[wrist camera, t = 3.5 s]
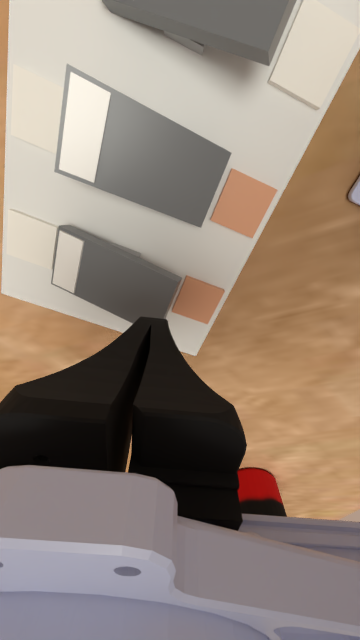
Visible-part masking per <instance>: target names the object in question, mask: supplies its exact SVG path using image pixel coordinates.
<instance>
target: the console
mask: <svg viewBox="0 0 360 640" xmlns="http://www.w3.org/2000/svg"><path fill="white" fill-rule="evenodd" d="M359 49H360V0H297V1H296V3H295V5H294V8H293V10H292V13H291V15H290V18H289V20H288V22H287V25H286V27H285V30H284V32H283V34H282V37H281V39H280V42H279V44H278V47H277V49H276V51H275V54H274V56H273V59H272V61H271V63H270V66H266V65H263V64H261V63H258V62H255V61H252V60H249V59H246V58H243V57H240V56H237V55H234V54H231V53H228V52H225V51H222V50H219V49H216V48H214V47H211V46H208V45H205V44H202V43H199V42H196V41H193V40H190V39H187V38H184V37H181V36H178V35H175V34H172V33H169V32H166V31H164V30H161V29H158V28H155V27H152V26H149V25H146V24H143V23H140V22H137V21H134V20H131V19H128V18H125V17H122V16H119V15H117V14H114V13H111V12H110V11H109V9H108V8H107V7H106V6H105V4H104V3H103V2H102V0H9V35H8V71H7V107H6V143H5V179H4V215H3V251H2V287H1V293H2V294H5V295H8V296H11V297H14V298H17V299H20V300H23V301H27V302H30V303H33V304H36V305H39V306H42V307H45V308H48V309H51V310H54V311H57V312H61V313H64V314H67V315H70V316H73V317H76V318H79V319H82V320H85V321H88V322H91V323H95V324H98V325H101V326H104V327H107V328H110V329H113V330H116V331H119V332H122V333H124V332H125V331H126V330H127V329H128V328H129V327H130V326H131V325H132V324H133V323H131V322H129V321H126V320H124V319H122V318H120V317H118V316H116V315H114V314H112V313H110V312H108V311H106V310H104V309H102V308H100V307H98V306H96V305H94V304H92V303H89V302H87V301H85V300H83V299H81V298H79V297H77V296H75V295H73V294H71V293H69V292H67V291H65V290H63V289H61V288H59V287H57V286H54V285H52V284H51V280H52V272H53V265H54V258H55V250H56V243H57V235H58V228H59V225H71V226H73V227H76V228H78V229H80V230H82V231H84V232H86V233H88V234H90V235H93V236H95V237H97V238H99V239H101V240H103V241H105V242H107V243H110V244H112V245H114V246H116V247H118V248H120V249H122V250H124V251H127V252H129V253H131V254H133V255H135V256H137V257H139V258H141V259H144V260H146V261H148V262H150V263H152V264H154V265H156V266H158V267H161V268H163V269H165V270H167V271H169V272H171V273H173V274H175V275H178V276H180V277H182V280H181V282H180V285H179V287H178V290H177V292H176V295H175V297H174V299H173V302H172V304H171V307H170V309H169V311H168V314H167V316H166V320H167V321H168V325H169V329H170V332H171V335H172V337H173V339H174V341H175V344H176V346H177V347H178V349H179V351H181V352H184V353H187V354H190V355H193V356H196V355H197V353H198V351H199V349H200V347H201V345H202V344H203V342H204V340H205V338H206V336H207V334H208V332H209V330H210V328H211V327H212V325H213V323H214V321H215V319H216V317H217V315H218V313H219V312H220V310H221V308H222V306H223V304H224V302H225V300H226V298H227V297H228V295H229V293H230V291H231V289H232V287H233V285H234V283H235V282H236V280H237V278H238V276H239V274H240V272H241V270H242V268H243V267H244V265H245V263H246V261H247V259H248V257H249V255H250V253H251V252H252V250H253V248H254V246H255V244H256V242H257V240H258V238H259V236H260V235H261V233H262V231H263V229H264V227H265V225H266V223H267V221H268V220H269V218H270V216H271V214H272V212H273V210H274V208H275V206H276V205H277V203H278V201H279V199H280V197H281V195H282V193H283V191H284V190H285V188H286V186H287V184H288V182H289V180H290V178H291V176H292V175H293V173H294V171H295V169H296V167H297V165H298V163H299V161H300V159H301V158H302V156H303V154H304V152H305V150H306V148H307V146H308V144H309V143H310V141H311V139H312V137H313V135H314V133H315V131H316V129H317V128H318V126H319V124H320V122H321V120H322V118H323V116H324V114H325V113H326V111H327V109H328V107H329V105H330V103H331V101H332V99H333V98H334V96H335V94H336V92H337V90H338V88H339V86H340V84H341V82H342V81H343V79H344V77H345V75H346V73H347V71H348V69H349V67H350V66H351V64H352V62H353V60H354V58H355V56H356V54H357V52H358V51H359ZM67 64H69V65H71V66H73V67H74V68H76V69H78V70H80V71H82V72H84V73H86V74H87V75H89V76H91V77H93V78H95V79H97V80H98V81H100V82H102V83H104V84H106V85H108V86H110V87H111V88H113V89H115V90H117V91H119V92H121V93H122V94H124V95H126V96H128V97H130V98H132V99H133V100H135V101H137V102H139V103H141V104H143V105H145V106H146V107H148V108H150V109H152V110H154V111H156V112H157V113H159V114H161V115H163V116H165V117H167V118H169V119H170V120H172V121H174V122H176V123H178V124H180V125H181V126H183V127H185V128H187V129H189V130H191V131H192V132H194V133H196V134H198V135H200V136H202V137H204V138H205V139H207V140H209V141H211V142H213V143H215V144H216V145H218V146H220V147H222V148H224V149H226V150H228V151H229V152H231V156H230V158H229V161H228V163H227V166H226V168H225V170H224V173H223V175H222V178H221V180H220V183H219V185H218V188H217V190H216V192H215V195H214V197H213V200H212V202H211V205H210V207H209V209H208V212H207V214H206V217H205V219H204V222H203V224H202V227H201V228H200V227H197V226H195V225H192V224H189V223H187V222H184V221H182V220H179V219H176V218H174V217H171V216H169V215H166V214H163V213H161V212H158V211H155V210H153V209H150V208H148V207H145V206H142V205H140V204H137V203H135V202H132V201H129V200H127V199H124V198H121V197H119V196H116V195H114V194H111V193H108V192H106V191H103V190H101V189H98V188H95V187H93V186H90V185H87V184H85V183H82V182H80V181H77V180H74V179H72V178H69V177H67V176H64V175H61V174H59V173H56V172H54V170H55V161H56V152H57V143H58V135H59V126H60V117H61V108H62V100H63V91H64V82H65V73H66V65H67Z"/></svg>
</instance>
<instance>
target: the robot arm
mask: <svg viewBox="0 0 360 640" xmlns="http://www.w3.org/2000/svg"><path fill="white" fill-rule="evenodd" d="M348 198H349V200H350V201H351V202H353V203H355V204H357V205H359V206H360V176H359V178H358V180H357V181H356V183H355V184H354V186H353V187H352V189H351V190H350V192H349V195H348ZM131 436H132V453H131V460H130V465H129V470H128V473H125V471H126V465H127V459H128V453H129V448H130V442H131ZM246 446H247V444H246V439H245V434H244V431H243V428H242V425H241V422H240V420H239V417H238V415H237V413H236V410H235V408H234V406H233V405H232V404H230V403H229V402H228V401H226V400H225V399H224V398H222V397H221V396H220V395H218V394H217V393H216V392H214V391H213V390H212V389H211V388H210V387H209V386H207V385H206V384H205V383H204V382H203V381H202V380H201V379H200V378H199V377H198V376H197V375H196V373H195V372H194V371H193V370H192V369H191V367H190V366H189V365H188V363H187V362H186V361H185V359H184V358H183V356H182V354H181V353H180V351H179V349H178V347H177V346H176V344H175V341H174V339H173V337H172V335H171V332H170V329H169V325H168V321H167V320H166V319H161V318H152V317H142V316H141V317H139V318H138V319H137V320H136V321H135V322H134V323H133V324H132V325H131V326H130V327H129V328H128V329H127V330H126V331H125V332H124V333H123V334H122V335H120V336H119V337H118V338H117V339H116V340H114V341H113V342H112V343H111V344H109V345H108V346H107V347H105V348H104V349H102V350H101V351H99V352H98V353H96V354H94V355H93V356H91V357H89V358H87V359H85V360H83V361H81V362H79V363H77V364H75V365H73V366H71V367H68V368H66V369H64V370H61V371H59V372H56V373H54V374H51V375H48V376H45V377H42V378H39V379H36V380H33V381H30V382H27V383H23V384H20V385H16V386H15V387H14V388H13V389H12V390H11V391H10V392H9V394H8V395H7V396H6V397H5V398H4V399H3V400H2V402H1V403H0V640H360V522H352V521H338V520H324V519H310V518H296V517H282V516H268V515H254V514H242V513H241V507H240V502H239V496H238V489H239V485H240V484H239V478H238V473H237V472H238V469H239V467H240V464H241V462H242V459H243V457H244V455H245V451H246Z"/></svg>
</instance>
